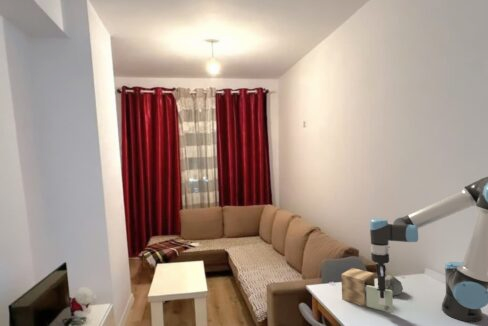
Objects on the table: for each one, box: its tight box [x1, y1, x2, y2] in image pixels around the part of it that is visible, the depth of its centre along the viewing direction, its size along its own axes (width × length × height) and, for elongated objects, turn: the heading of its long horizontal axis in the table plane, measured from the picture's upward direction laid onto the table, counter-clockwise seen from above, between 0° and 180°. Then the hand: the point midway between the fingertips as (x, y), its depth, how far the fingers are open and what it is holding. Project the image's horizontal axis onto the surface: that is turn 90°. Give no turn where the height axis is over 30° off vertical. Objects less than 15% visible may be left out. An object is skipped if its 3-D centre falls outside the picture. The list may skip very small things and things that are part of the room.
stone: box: [385, 274, 404, 296], centre depth 163 cm, size 10×10×10 cm
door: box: [365, 285, 394, 314], centre depth 145 cm, size 2×12×10 cm, turn 51°
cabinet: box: [340, 267, 376, 307], centre depth 158 cm, size 12×12×13 cm
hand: (382, 304), depth 141 cm, fingers closed
